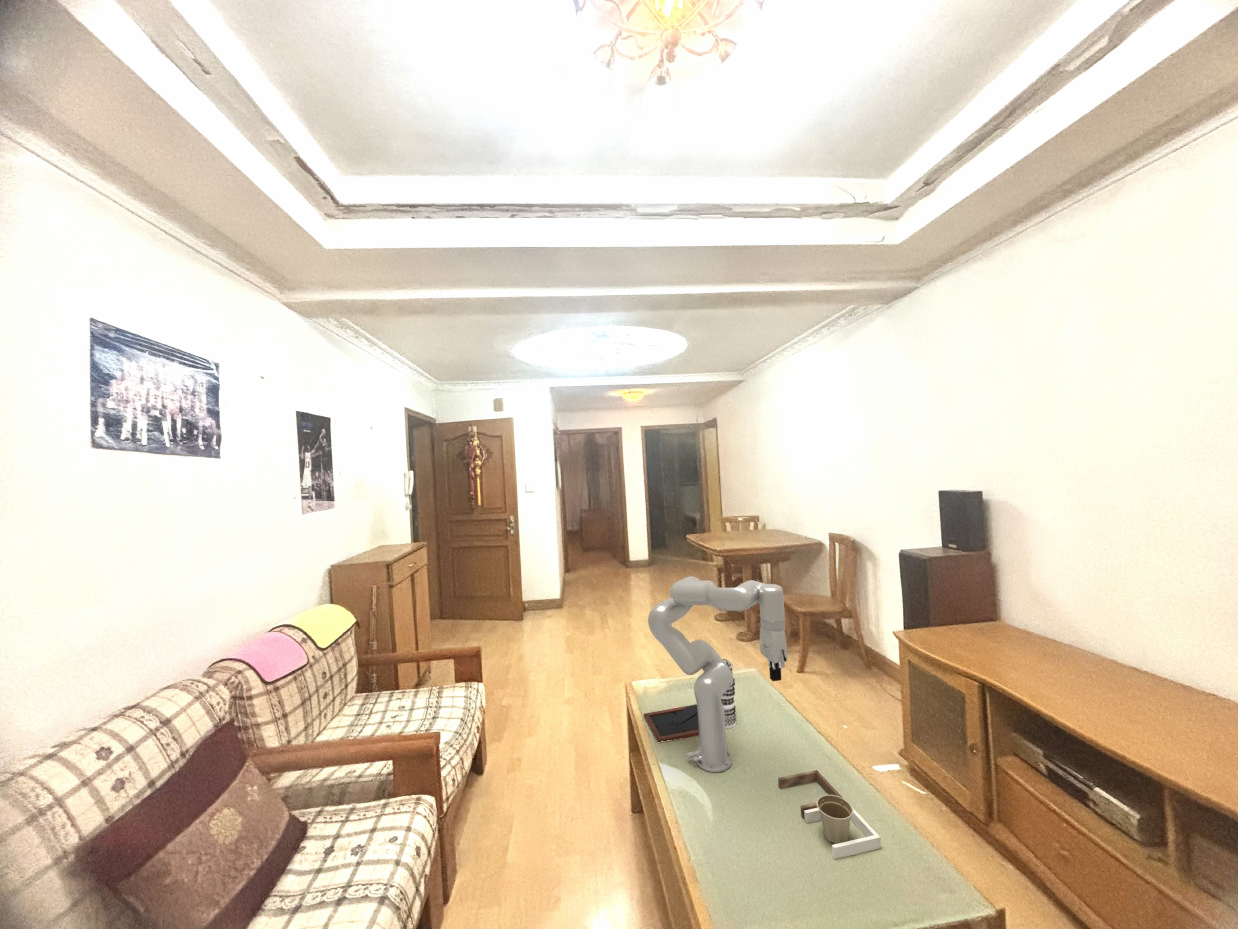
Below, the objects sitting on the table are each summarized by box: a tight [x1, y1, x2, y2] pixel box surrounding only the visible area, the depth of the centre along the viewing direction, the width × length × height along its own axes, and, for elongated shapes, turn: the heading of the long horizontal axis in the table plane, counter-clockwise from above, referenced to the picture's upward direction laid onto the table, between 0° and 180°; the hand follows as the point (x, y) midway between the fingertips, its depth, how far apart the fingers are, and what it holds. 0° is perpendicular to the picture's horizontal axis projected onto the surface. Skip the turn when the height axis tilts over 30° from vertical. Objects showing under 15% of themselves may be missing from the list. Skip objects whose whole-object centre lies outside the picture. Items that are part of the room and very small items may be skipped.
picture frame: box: [643, 703, 699, 743], centre depth 197 cm, size 20×2×25 cm
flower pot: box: [815, 794, 854, 844], centre depth 135 cm, size 9×9×9 cm
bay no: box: [777, 769, 845, 819], centre depth 151 cm, size 14×14×3 cm
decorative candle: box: [721, 658, 737, 729], centre depth 195 cm, size 9×9×25 cm
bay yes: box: [804, 808, 882, 860], centre depth 136 cm, size 14×14×3 cm
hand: (775, 679), depth 156 cm, fingers closed
